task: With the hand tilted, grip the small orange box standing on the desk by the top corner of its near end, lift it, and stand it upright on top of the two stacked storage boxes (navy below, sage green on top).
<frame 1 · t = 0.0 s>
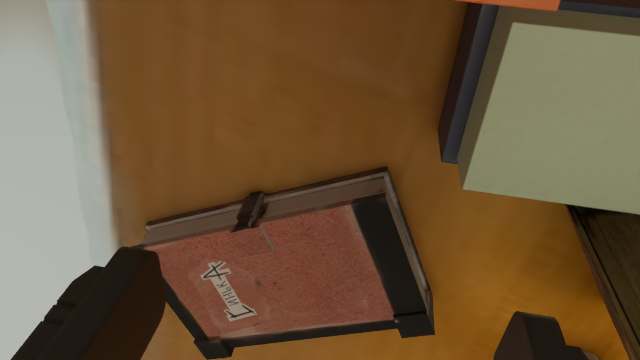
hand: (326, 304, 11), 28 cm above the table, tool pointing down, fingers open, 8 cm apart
book 2: (289, 254, 49), on the table
box stack: (591, 76, 34), on the table
book: (615, 242, 42), on the table
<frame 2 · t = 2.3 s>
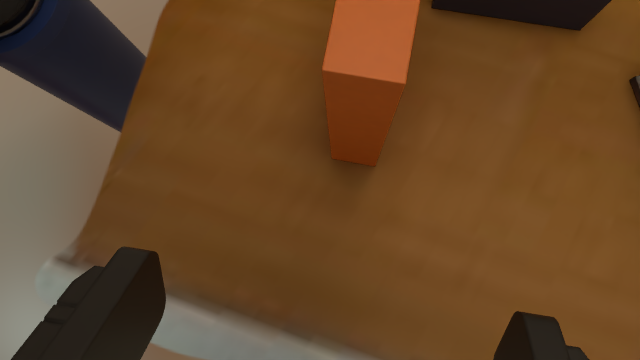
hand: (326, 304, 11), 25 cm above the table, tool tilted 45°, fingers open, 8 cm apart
orange box: (368, 79, 38), on the table
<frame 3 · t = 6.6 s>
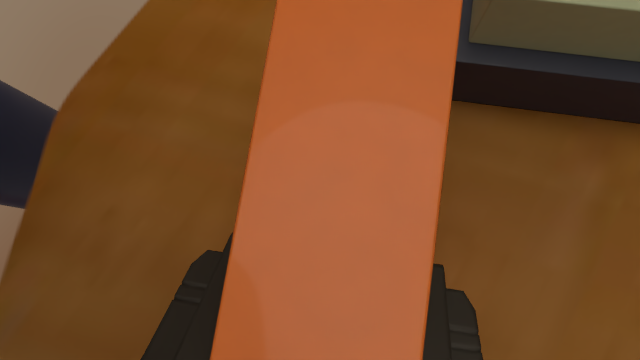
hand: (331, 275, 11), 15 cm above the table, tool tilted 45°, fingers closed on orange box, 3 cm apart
orange box: (349, 206, 26), on the table, touching gripper
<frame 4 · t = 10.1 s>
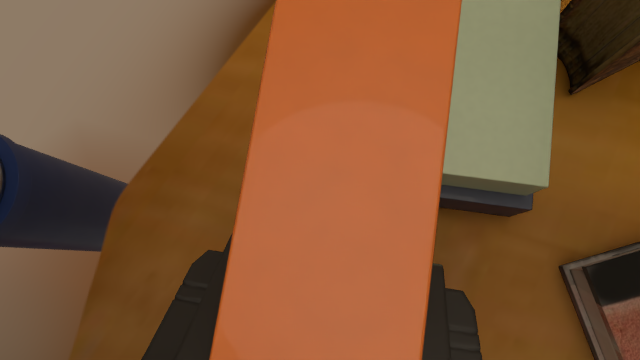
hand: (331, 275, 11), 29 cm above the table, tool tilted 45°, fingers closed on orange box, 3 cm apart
orange box: (349, 207, 26), point 14 cm above the table, touching gripper
box stack: (449, 96, 42), on the table
book: (627, 32, 42), on the table
when the fingers open (24 cm above the table, at t = 13.9 s): orange box stays where it is, resting on box stack.
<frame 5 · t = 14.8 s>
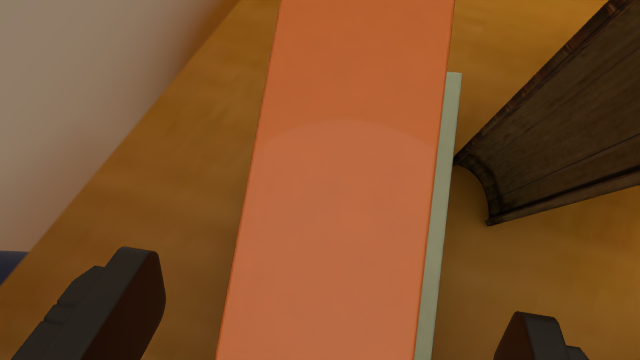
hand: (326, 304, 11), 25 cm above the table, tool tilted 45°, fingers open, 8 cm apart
orange box: (348, 212, 27), point 9 cm above the table, touching box stack
box stack: (349, 222, 36), on the table
book: (557, 148, 36), on the table
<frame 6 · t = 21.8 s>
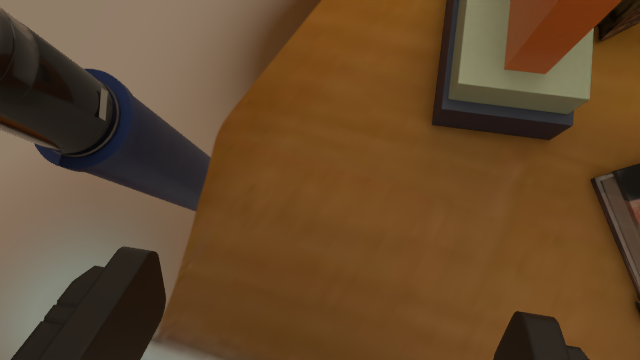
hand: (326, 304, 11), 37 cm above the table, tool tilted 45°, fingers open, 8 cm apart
box stack: (498, 43, 50), on the table
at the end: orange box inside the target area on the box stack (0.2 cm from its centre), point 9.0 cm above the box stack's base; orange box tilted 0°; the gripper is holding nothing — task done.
